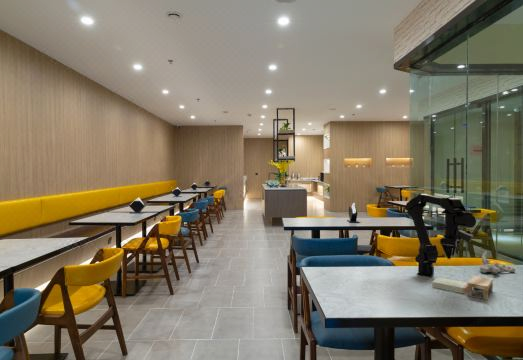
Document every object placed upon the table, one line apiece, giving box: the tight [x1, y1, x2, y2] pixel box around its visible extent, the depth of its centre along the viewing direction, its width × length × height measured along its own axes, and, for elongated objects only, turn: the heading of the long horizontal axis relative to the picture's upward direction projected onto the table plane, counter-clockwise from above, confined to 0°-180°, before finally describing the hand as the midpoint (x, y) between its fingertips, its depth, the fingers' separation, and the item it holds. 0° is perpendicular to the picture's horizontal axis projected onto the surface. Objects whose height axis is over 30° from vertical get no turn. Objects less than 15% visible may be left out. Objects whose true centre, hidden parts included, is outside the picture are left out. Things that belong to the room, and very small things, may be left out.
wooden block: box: [466, 275, 494, 301], centre depth 142 cm, size 7×15×6 cm, turn 138°
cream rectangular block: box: [432, 277, 468, 295], centre depth 150 cm, size 13×10×2 cm
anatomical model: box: [479, 250, 516, 274], centre depth 180 cm, size 19×8×20 cm
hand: (450, 257), depth 155 cm, fingers open, 9 cm apart
